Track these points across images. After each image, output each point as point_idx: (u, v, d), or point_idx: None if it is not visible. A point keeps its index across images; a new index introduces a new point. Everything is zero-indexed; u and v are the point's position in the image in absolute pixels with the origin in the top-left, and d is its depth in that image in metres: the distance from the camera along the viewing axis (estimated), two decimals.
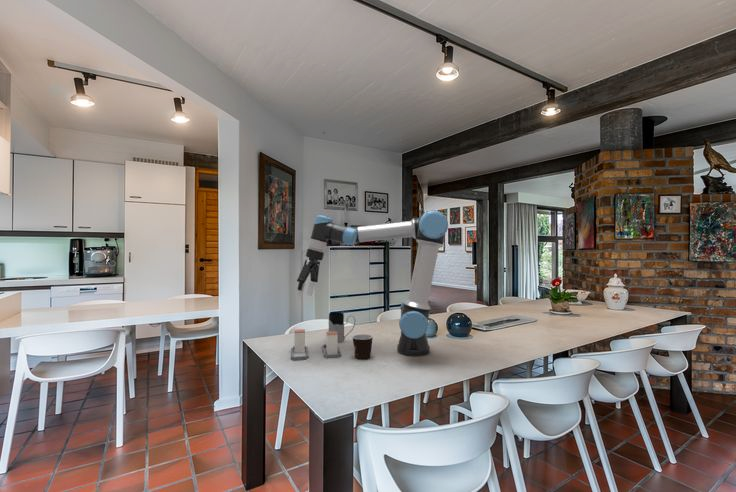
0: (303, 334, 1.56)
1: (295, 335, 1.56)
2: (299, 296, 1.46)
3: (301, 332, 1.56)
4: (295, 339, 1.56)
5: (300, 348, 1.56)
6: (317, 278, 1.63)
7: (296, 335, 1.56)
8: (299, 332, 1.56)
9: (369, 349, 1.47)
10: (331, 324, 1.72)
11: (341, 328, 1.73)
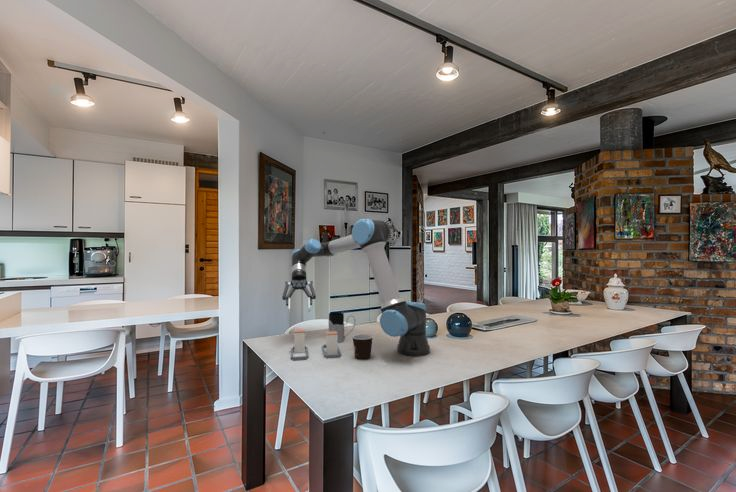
0: (303, 334, 1.56)
1: (295, 335, 1.56)
2: (288, 308, 1.64)
3: (301, 332, 1.56)
4: (295, 339, 1.56)
5: (300, 348, 1.56)
6: (314, 294, 1.71)
7: (296, 335, 1.56)
8: (299, 332, 1.56)
9: (369, 349, 1.47)
10: (331, 324, 1.72)
11: (341, 328, 1.73)
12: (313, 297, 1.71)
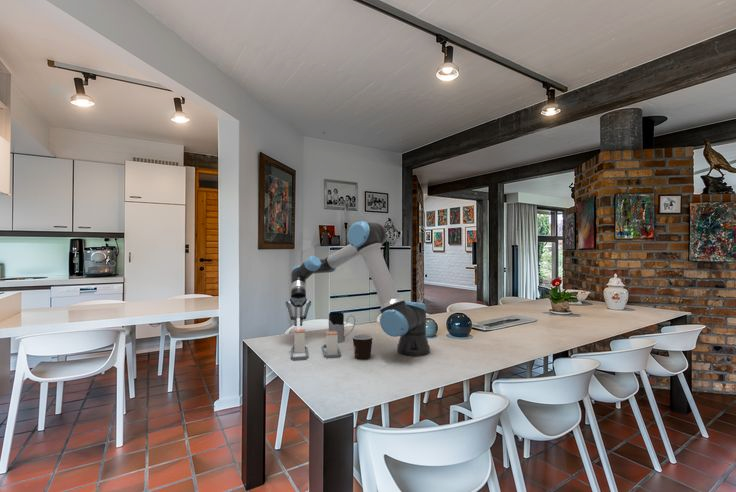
0: (303, 334, 1.56)
1: (295, 335, 1.56)
2: None
3: (301, 332, 1.56)
4: (295, 339, 1.56)
5: (300, 348, 1.56)
6: (305, 315, 1.69)
7: (296, 335, 1.56)
8: (299, 332, 1.56)
9: (369, 349, 1.47)
10: (331, 324, 1.72)
11: (341, 328, 1.73)
12: (303, 318, 1.69)
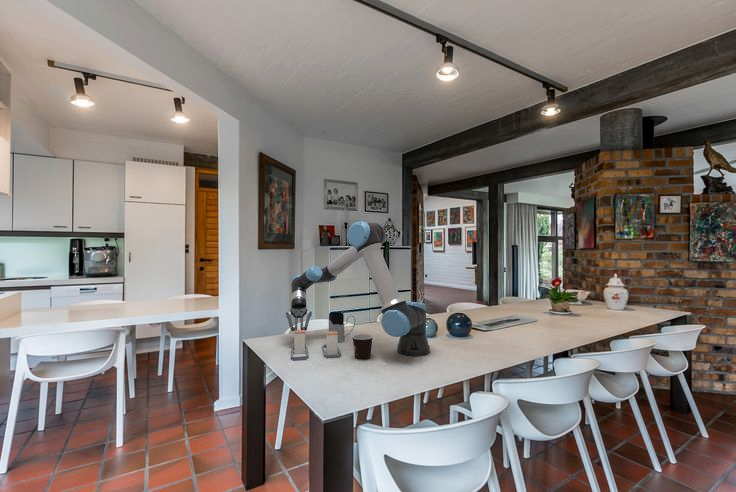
0: (303, 335, 1.55)
1: (295, 336, 1.54)
2: None
3: (301, 333, 1.55)
4: (295, 340, 1.54)
5: (300, 348, 1.55)
6: (306, 326, 1.65)
7: (296, 336, 1.54)
8: (299, 333, 1.55)
9: (369, 349, 1.47)
10: (331, 324, 1.72)
11: (341, 328, 1.73)
12: (304, 329, 1.65)
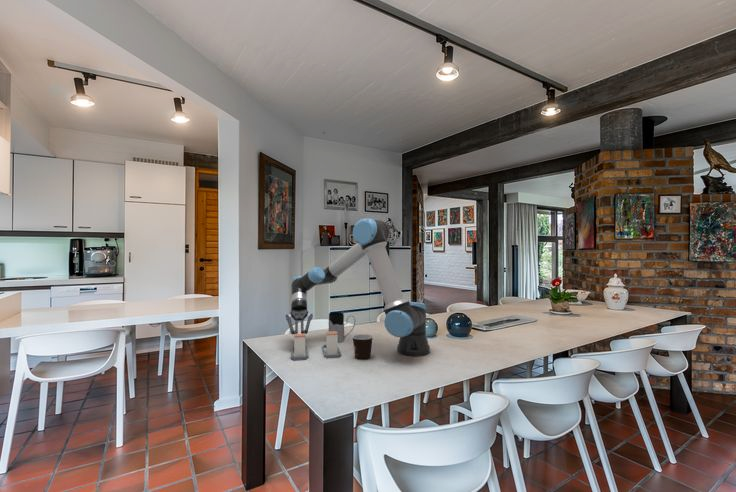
0: (303, 339, 1.49)
1: (295, 340, 1.48)
2: None
3: (301, 336, 1.48)
4: (295, 344, 1.48)
5: (300, 353, 1.48)
6: (306, 329, 1.59)
7: (296, 340, 1.48)
8: (299, 336, 1.48)
9: (369, 349, 1.47)
10: (331, 324, 1.72)
11: (341, 328, 1.73)
12: (305, 332, 1.58)
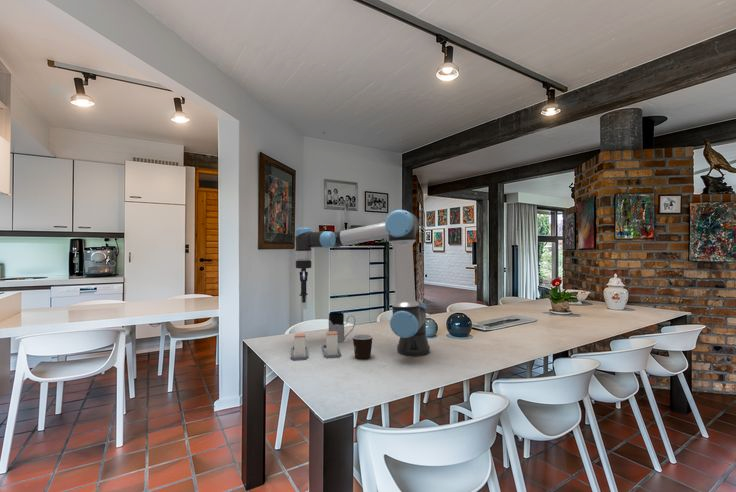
0: (303, 339, 1.49)
1: (295, 340, 1.48)
2: (305, 307, 1.66)
3: (301, 336, 1.48)
4: (295, 344, 1.48)
5: (300, 353, 1.48)
6: None
7: (296, 340, 1.48)
8: (299, 336, 1.48)
9: (369, 349, 1.47)
10: (331, 324, 1.72)
11: (341, 328, 1.73)
12: None
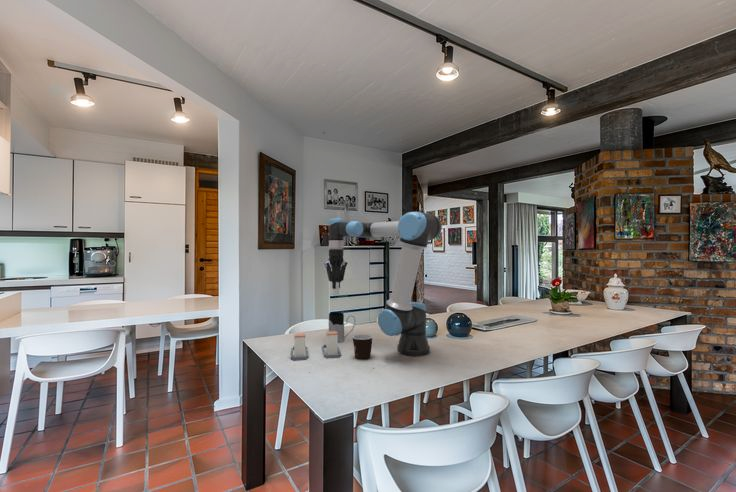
0: (303, 339, 1.49)
1: (295, 340, 1.48)
2: (335, 293, 1.76)
3: (301, 336, 1.48)
4: (295, 344, 1.48)
5: (300, 353, 1.48)
6: (342, 278, 1.78)
7: (296, 340, 1.48)
8: (299, 336, 1.48)
9: (369, 349, 1.47)
10: (331, 324, 1.72)
11: (341, 328, 1.73)
12: (340, 281, 1.78)
